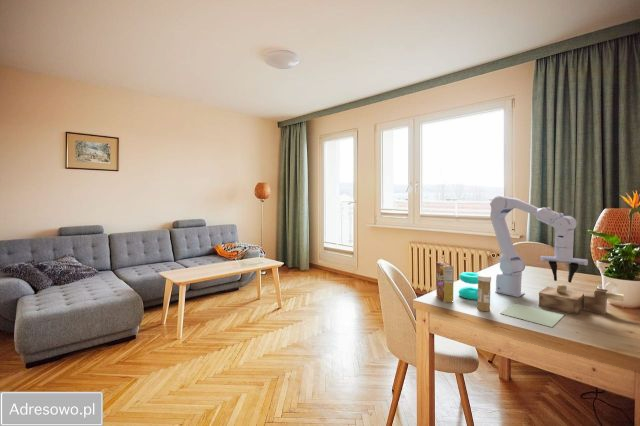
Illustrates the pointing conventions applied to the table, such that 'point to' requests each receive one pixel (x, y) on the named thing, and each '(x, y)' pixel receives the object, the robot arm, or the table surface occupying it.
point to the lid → (561, 293)
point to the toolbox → (561, 305)
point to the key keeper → (596, 301)
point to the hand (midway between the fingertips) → (562, 281)
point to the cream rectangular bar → (613, 296)
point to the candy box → (445, 281)
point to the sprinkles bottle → (484, 292)
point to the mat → (533, 315)
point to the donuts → (469, 291)
